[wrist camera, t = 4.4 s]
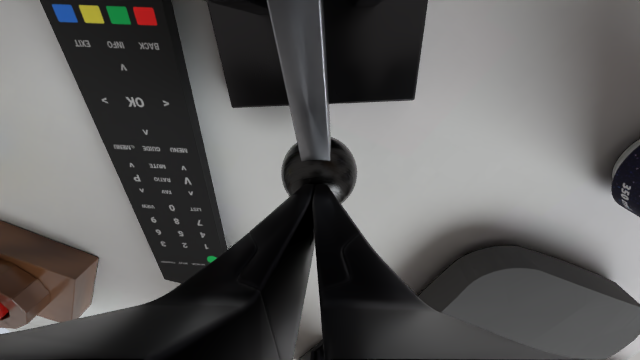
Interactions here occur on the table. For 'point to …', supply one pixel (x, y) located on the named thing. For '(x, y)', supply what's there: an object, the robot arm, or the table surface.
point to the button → (3, 310)
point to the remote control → (145, 122)
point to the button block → (42, 278)
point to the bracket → (341, 50)
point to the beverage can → (628, 179)
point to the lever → (309, 100)
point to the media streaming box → (537, 302)
